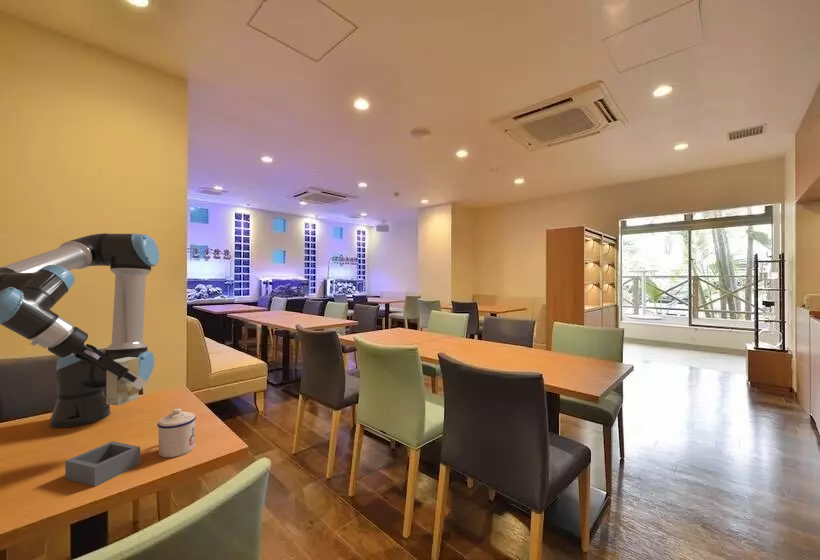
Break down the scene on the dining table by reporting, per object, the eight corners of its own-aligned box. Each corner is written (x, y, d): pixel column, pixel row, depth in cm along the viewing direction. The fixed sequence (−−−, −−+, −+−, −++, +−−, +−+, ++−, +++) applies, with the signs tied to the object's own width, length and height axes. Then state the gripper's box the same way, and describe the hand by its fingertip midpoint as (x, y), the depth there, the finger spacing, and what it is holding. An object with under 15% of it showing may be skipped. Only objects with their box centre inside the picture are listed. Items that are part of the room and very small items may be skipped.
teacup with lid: (198, 451, 99) (197, 410, 99) (158, 462, 93) (157, 418, 93) (193, 436, 108) (192, 398, 108) (156, 444, 103) (156, 405, 103)
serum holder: (65, 478, 86) (65, 460, 86) (112, 457, 96) (112, 441, 96) (94, 486, 83) (94, 467, 83) (140, 463, 93) (140, 446, 92)
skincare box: (118, 406, 97) (117, 362, 97) (105, 405, 98) (104, 361, 98) (140, 398, 103) (139, 356, 103) (128, 397, 104) (127, 356, 104)
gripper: (36, 345, 92) (114, 389, 107) (58, 354, 82) (141, 401, 97) (63, 322, 97) (135, 367, 111) (87, 328, 87) (163, 377, 101)
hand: (138, 383), depth 104 cm, fingers closed on skincare box, 6 cm apart
